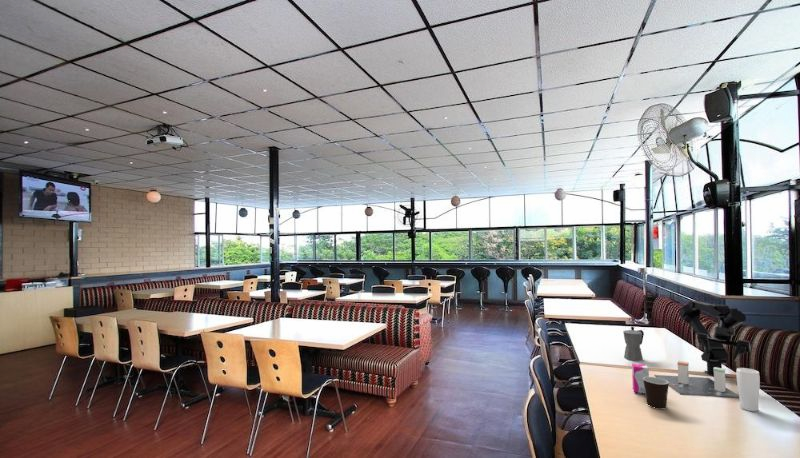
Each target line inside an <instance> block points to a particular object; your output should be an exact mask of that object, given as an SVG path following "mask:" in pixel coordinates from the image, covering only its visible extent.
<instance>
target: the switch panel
mask: <svg viewBox="0 0 800 458" xmlns="http://www.w3.org/2000/svg"><path fill="white" fill-rule="evenodd" d="M653 377H656V378H661V379H664V380H666V381H668V382H669V385H668V388H669V387H670V388H671V389H672V390H673V391H675V392H677V394H680V395H685V396H687V395H688V396H701V397H703V396H704V397H715V398H716V397H719V398H731V399H733V398H734V399H740V398H739V393H737V392H735V391H733V390H731V389H729V388H727V387H726V391H725V392H721V391H716V390H714V379H712V378H710V377H703V376H702V377H701V376H699V377H698V376H689V383H688V385H687V384H682V383H678V375H665V374H663V375H662V374H654V376H653Z"/></svg>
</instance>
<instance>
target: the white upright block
mask: <svg viewBox="0 0 800 458" xmlns="http://www.w3.org/2000/svg"><path fill="white" fill-rule="evenodd" d="M713 371H714V376H713V381H714V390H716V391H721V392H725V391H726V388H727V387H726V376H725V375H726V368H723V367H722V368H717V367H714V368H713Z"/></svg>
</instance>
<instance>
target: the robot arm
mask: <svg viewBox="0 0 800 458" xmlns="http://www.w3.org/2000/svg"><path fill="white" fill-rule="evenodd" d="M702 311H703V312H706V313H708V314H709V315H710V316H712V317H718V320H717V321H716V324H717V326H715V327H714V337H715V338H713V337H712V335H711V334H710V332H709V331H708V330H707V329H706V327H705V326H704V324H703V323H702V321H701V320H700V319H701V314H702ZM678 315H679V317H680V318H681V319H682V320H683V322H685V323H687V324H689V325H690V326H691V328H692V329H693V331H694V333H695V334H696V335H697V336H696V339H697V342H698V344H699V345H700V344H701V346H702V347H703V353H702V354H701V355H700V357H701V360H702V361H703V362H706V370H704V371H705V372H706V373H705V372H704V373H705V374H707V375H709V376H712V377H714V371H713V368H714V367H717V368H723V367H722V366H723V364H727V362H728V358H729V352H728V351H727V348H725V346H731V347H735V348H736V349H735V352H734V355H733V360H732V361H733V362H734V363H735V362H736V361H737V360H738V359H739V358H740V356H742V355H744V354H746V353H751V343H750V341H748V340H743V339H738V340H737V342H736V341H732V340H733V339H732V338H733V336H735V335H736V328H735V327H737V326H739V325H740V324H742V323H744V322H745V321H746V320H747V317H746V315H745V314H744V312H742V311H740V310H738V308H732V307H731V308H730V307H729V306H728V305H727V304H712V303H708V302H702V301H701V300H691V301H688V303H687V304H684V305H683V306H681V309H680V310H679V311H678ZM724 345H725V346H724ZM725 377H726V374H725Z"/></svg>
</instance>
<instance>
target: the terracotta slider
mask: <svg viewBox="0 0 800 458" xmlns="http://www.w3.org/2000/svg"><path fill="white" fill-rule="evenodd" d="M689 373H690V372H689V362H687V361H682V360H678V361H677V376H678V383H682V384H687V385H688V383H689V377H690V375H689Z"/></svg>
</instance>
